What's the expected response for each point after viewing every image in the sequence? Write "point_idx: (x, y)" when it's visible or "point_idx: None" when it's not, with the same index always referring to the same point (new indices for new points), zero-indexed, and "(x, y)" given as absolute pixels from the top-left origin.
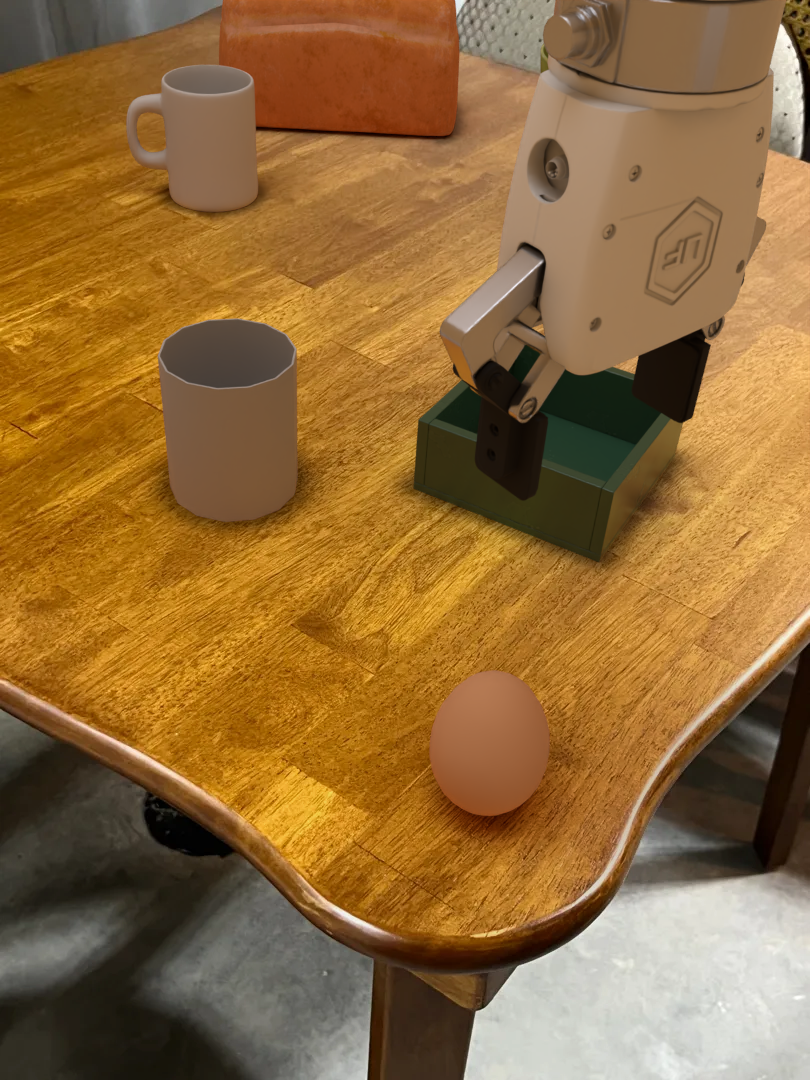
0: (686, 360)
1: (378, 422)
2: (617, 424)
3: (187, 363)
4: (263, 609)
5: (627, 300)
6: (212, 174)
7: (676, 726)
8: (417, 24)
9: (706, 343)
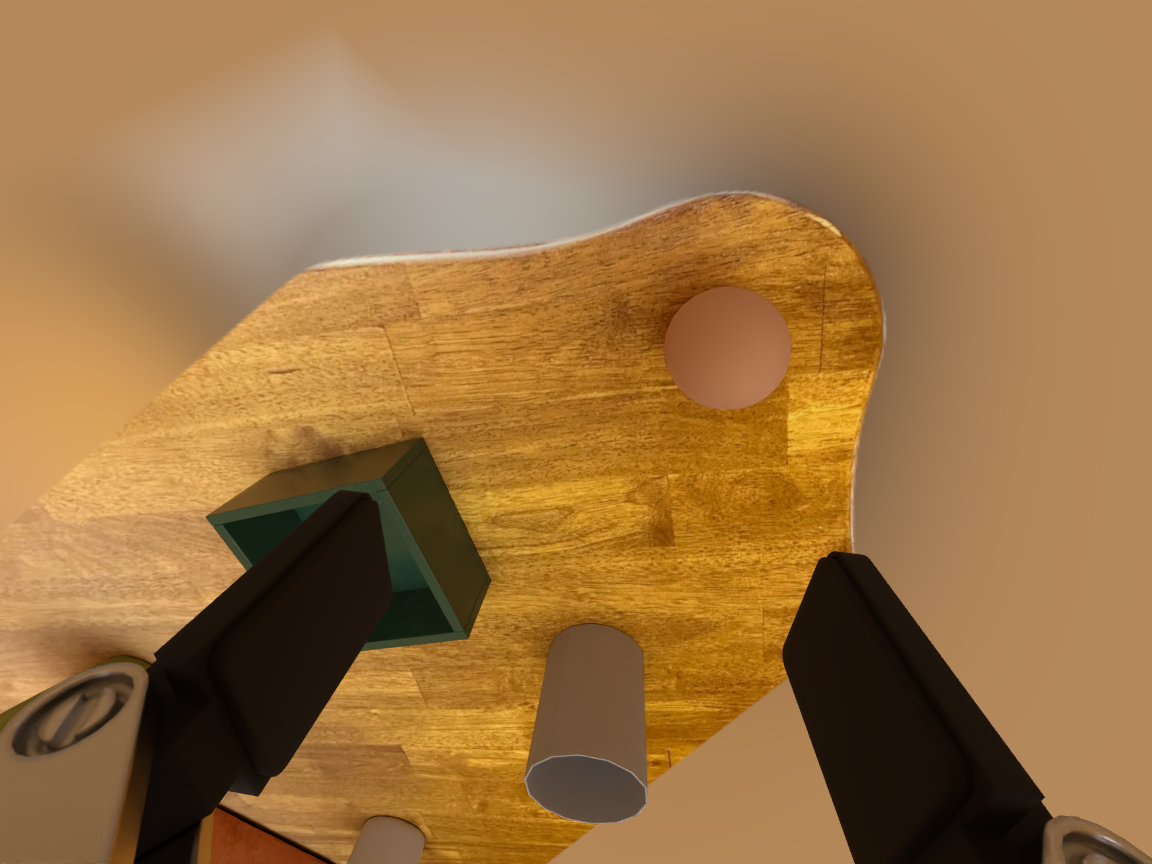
0: (267, 636)
1: None
2: (292, 529)
3: (592, 780)
4: (677, 567)
5: None
6: (393, 860)
7: (512, 263)
8: None
9: (164, 664)
